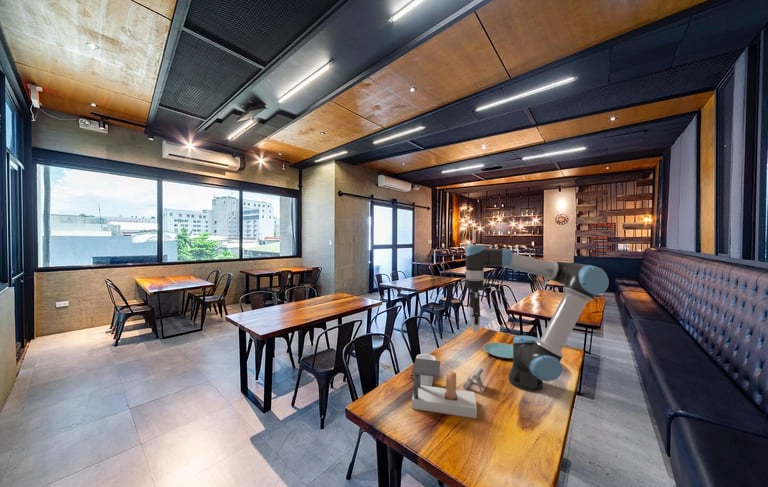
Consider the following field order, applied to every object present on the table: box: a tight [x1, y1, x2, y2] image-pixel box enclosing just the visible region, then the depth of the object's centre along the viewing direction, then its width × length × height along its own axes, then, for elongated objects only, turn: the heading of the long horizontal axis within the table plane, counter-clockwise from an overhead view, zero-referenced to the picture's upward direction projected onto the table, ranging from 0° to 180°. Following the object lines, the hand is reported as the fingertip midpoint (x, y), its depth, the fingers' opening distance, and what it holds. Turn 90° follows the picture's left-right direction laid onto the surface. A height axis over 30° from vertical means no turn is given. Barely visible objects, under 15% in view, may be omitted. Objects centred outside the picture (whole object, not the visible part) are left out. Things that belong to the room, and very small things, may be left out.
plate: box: [482, 342, 513, 360], centre depth 174 cm, size 22×22×3 cm
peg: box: [445, 370, 457, 401], centre depth 119 cm, size 4×4×14 cm
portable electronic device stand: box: [462, 367, 485, 392], centre depth 134 cm, size 9×8×8 cm
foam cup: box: [415, 353, 437, 387], centre depth 137 cm, size 10×9×13 cm
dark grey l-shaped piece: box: [411, 357, 441, 399], centre depth 122 cm, size 11×13×12 cm
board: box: [411, 385, 478, 419], centre depth 120 cm, size 26×12×4 cm, turn 77°
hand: (474, 326), depth 126 cm, fingers open, 13 cm apart
